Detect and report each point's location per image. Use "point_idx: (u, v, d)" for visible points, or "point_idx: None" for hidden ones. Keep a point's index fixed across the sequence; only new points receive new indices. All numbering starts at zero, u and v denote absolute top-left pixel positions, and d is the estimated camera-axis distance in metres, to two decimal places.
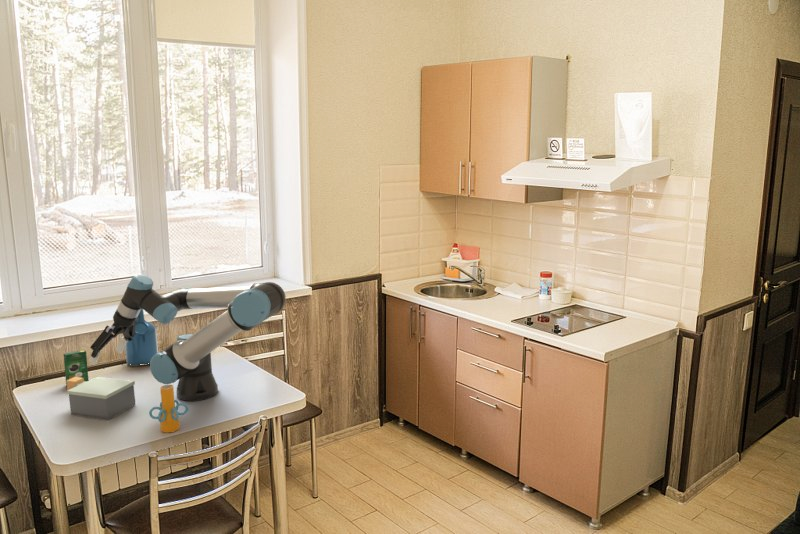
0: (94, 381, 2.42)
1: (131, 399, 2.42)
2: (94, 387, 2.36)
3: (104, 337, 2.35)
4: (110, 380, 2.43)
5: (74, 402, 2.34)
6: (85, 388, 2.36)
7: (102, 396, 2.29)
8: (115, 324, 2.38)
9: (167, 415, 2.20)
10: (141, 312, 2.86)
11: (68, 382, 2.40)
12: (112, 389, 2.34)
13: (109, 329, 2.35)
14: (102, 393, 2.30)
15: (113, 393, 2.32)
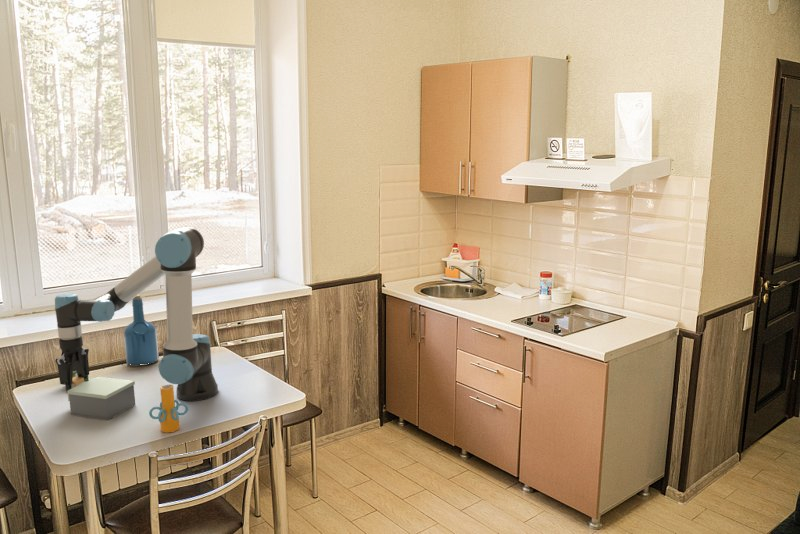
0: (94, 381, 2.42)
1: (131, 399, 2.42)
2: (94, 387, 2.36)
3: (62, 369, 2.34)
4: (110, 380, 2.43)
5: (74, 402, 2.34)
6: (85, 388, 2.36)
7: (102, 396, 2.29)
8: (63, 351, 2.35)
9: (167, 415, 2.20)
10: (141, 312, 2.86)
11: None
12: (112, 389, 2.34)
13: (59, 361, 2.33)
14: (102, 393, 2.30)
15: (113, 393, 2.32)
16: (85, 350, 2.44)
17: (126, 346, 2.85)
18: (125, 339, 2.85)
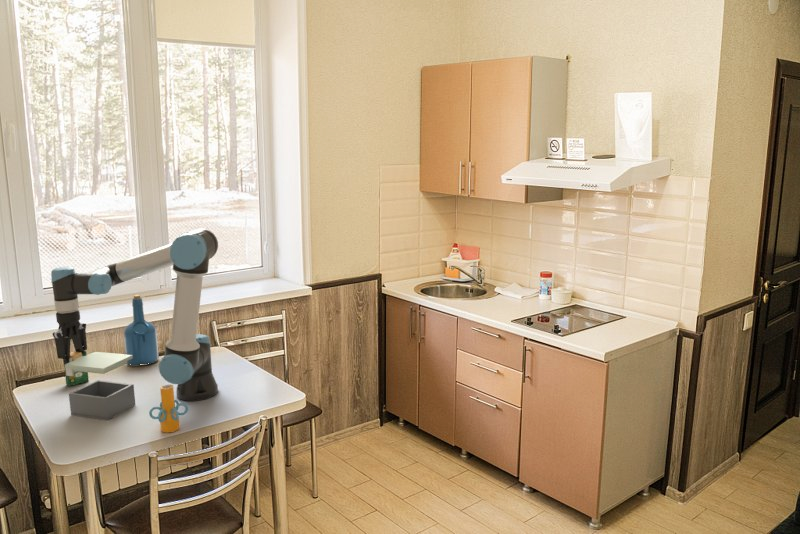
0: (92, 356, 2.40)
1: (131, 399, 2.42)
2: (92, 361, 2.35)
3: (59, 343, 2.33)
4: (108, 354, 2.42)
5: (74, 402, 2.34)
6: (83, 362, 2.34)
7: (100, 369, 2.27)
8: (60, 325, 2.34)
9: (167, 415, 2.20)
10: (141, 312, 2.86)
11: None
12: (110, 363, 2.32)
13: (56, 335, 2.31)
14: (100, 366, 2.28)
15: (111, 366, 2.30)
16: (82, 325, 2.42)
17: (126, 346, 2.85)
18: (125, 339, 2.85)
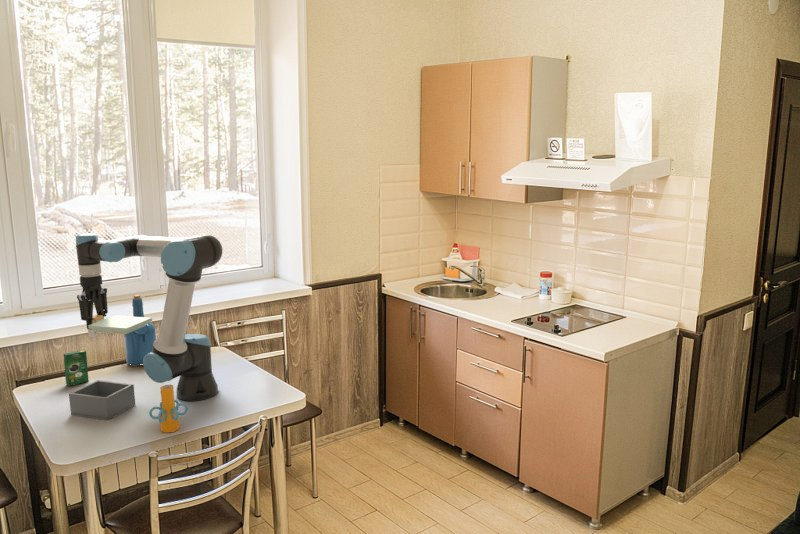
0: (113, 318, 2.54)
1: (131, 399, 2.42)
2: (114, 322, 2.48)
3: (83, 305, 2.45)
4: (128, 317, 2.55)
5: (74, 402, 2.34)
6: (105, 323, 2.47)
7: (123, 329, 2.41)
8: (84, 288, 2.46)
9: (167, 415, 2.20)
10: (141, 312, 2.86)
11: None
12: (132, 324, 2.46)
13: (80, 297, 2.44)
14: (123, 327, 2.42)
15: (133, 327, 2.44)
16: (104, 289, 2.55)
17: (126, 346, 2.85)
18: (125, 339, 2.85)
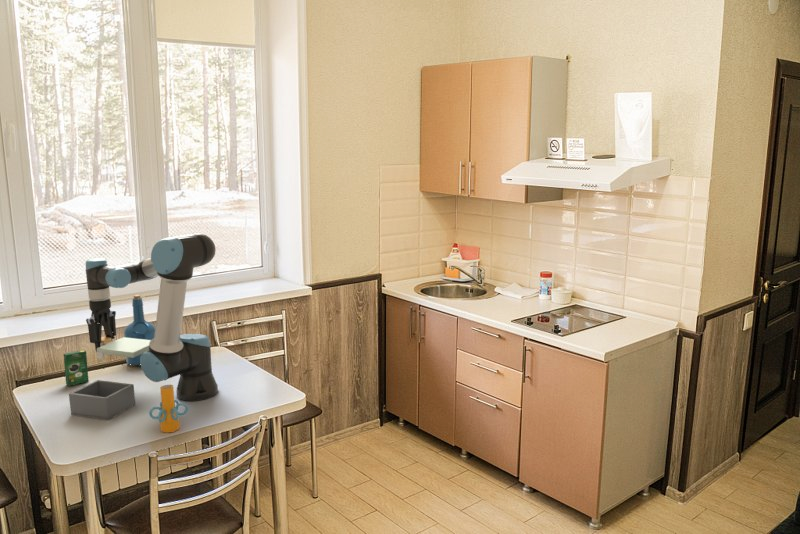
0: (121, 341, 2.59)
1: (131, 399, 2.42)
2: (121, 345, 2.53)
3: (92, 329, 2.51)
4: (135, 340, 2.60)
5: (74, 402, 2.34)
6: (113, 346, 2.53)
7: (130, 353, 2.46)
8: (93, 311, 2.52)
9: (167, 415, 2.20)
10: (141, 312, 2.86)
11: None
12: (139, 347, 2.51)
13: (89, 321, 2.50)
14: (130, 351, 2.47)
15: (140, 351, 2.49)
16: (112, 312, 2.61)
17: None
18: None
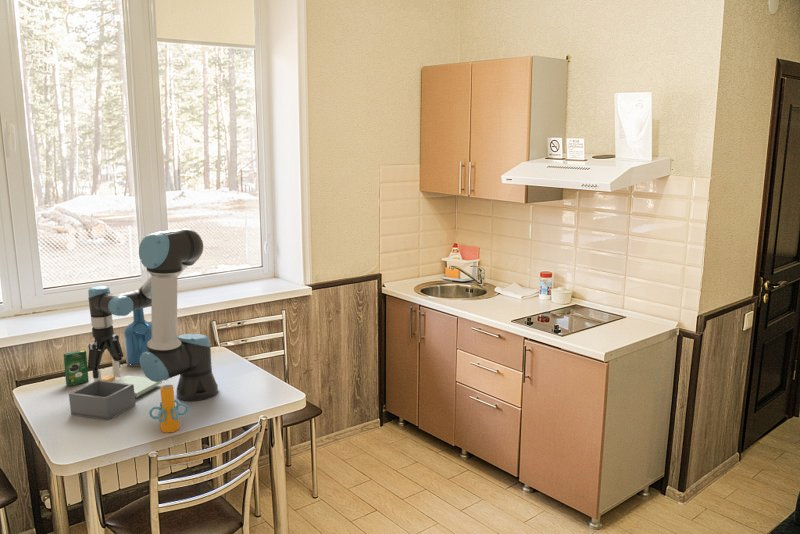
0: (125, 379, 2.62)
1: (131, 399, 2.42)
2: None
3: (92, 354, 2.52)
4: (139, 378, 2.63)
5: (74, 402, 2.34)
6: None
7: None
8: (96, 339, 2.54)
9: (167, 415, 2.20)
10: (141, 312, 2.86)
11: None
12: (142, 387, 2.54)
13: (92, 346, 2.52)
14: (134, 391, 2.50)
15: (143, 391, 2.52)
16: (115, 337, 2.63)
17: (126, 346, 2.85)
18: (125, 339, 2.85)
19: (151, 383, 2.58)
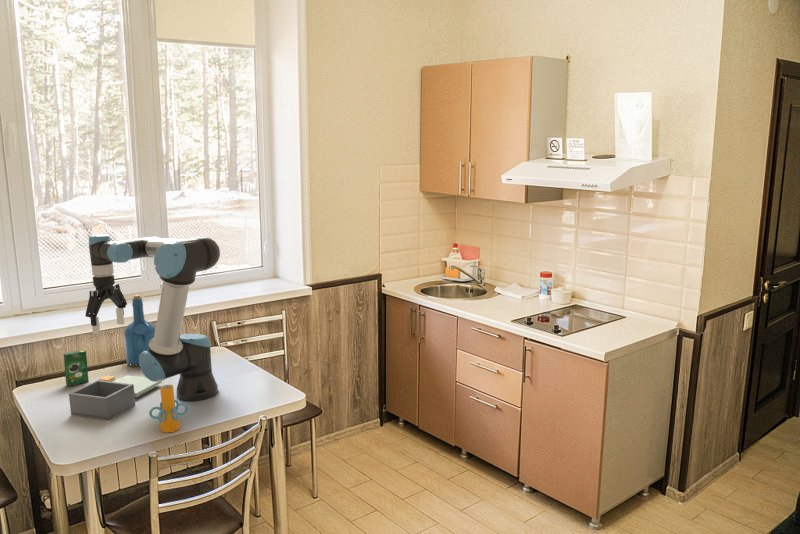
0: (125, 379, 2.62)
1: (131, 399, 2.42)
2: None
3: (92, 301, 2.48)
4: (139, 378, 2.63)
5: (74, 402, 2.34)
6: None
7: None
8: (97, 288, 2.52)
9: (167, 415, 2.20)
10: (141, 312, 2.86)
11: None
12: (142, 387, 2.54)
13: (93, 292, 2.49)
14: None
15: (143, 391, 2.52)
16: (116, 286, 2.60)
17: (126, 346, 2.85)
18: (125, 339, 2.85)
19: (151, 383, 2.58)
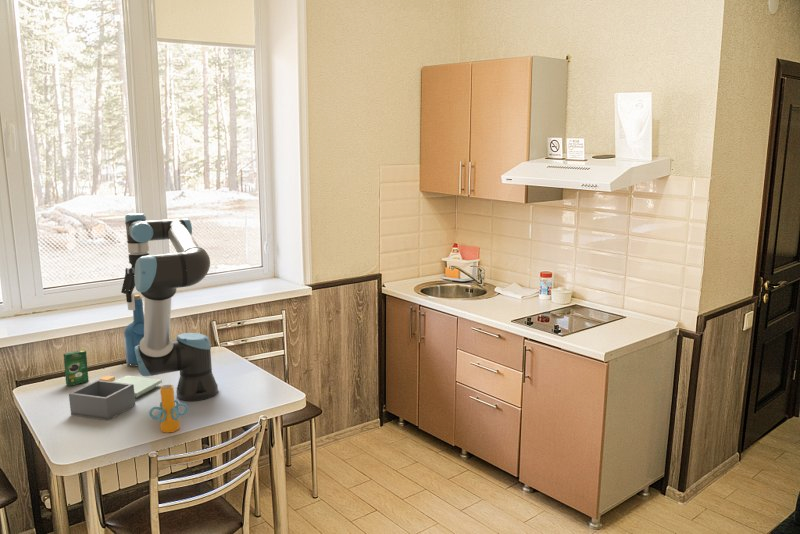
0: (125, 379, 2.62)
1: (131, 399, 2.42)
2: None
3: (128, 278, 2.54)
4: (139, 378, 2.63)
5: (74, 402, 2.34)
6: None
7: None
8: (133, 265, 2.57)
9: (167, 415, 2.20)
10: (141, 312, 2.86)
11: None
12: (142, 387, 2.54)
13: (129, 269, 2.55)
14: None
15: (143, 391, 2.52)
16: None
17: (126, 346, 2.85)
18: (125, 339, 2.85)
19: (151, 383, 2.58)
